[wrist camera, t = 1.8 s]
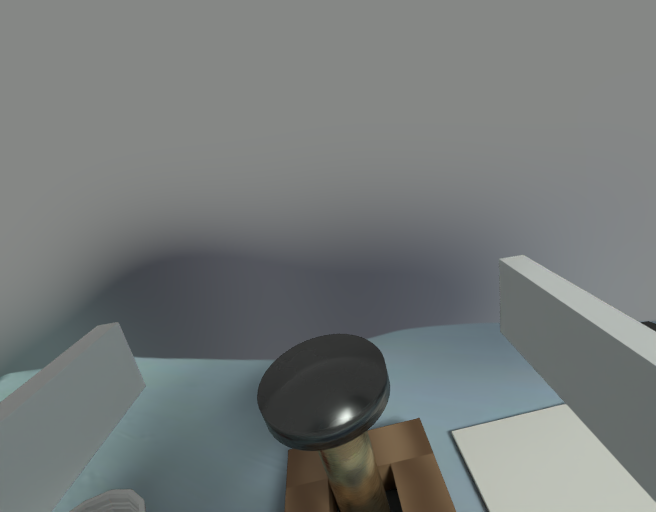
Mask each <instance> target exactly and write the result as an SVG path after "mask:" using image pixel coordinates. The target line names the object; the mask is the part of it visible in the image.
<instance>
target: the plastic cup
mask: <svg viewBox="0 0 656 512" xmlns="http://www.w3.org/2000/svg"><path fill="white" fill-rule="evenodd" d="M69 512H146V507H145V502H144V499H143V498H141V497H140V496H139V495H138V494H137V493H136V492H135V491H133V490H132V489H117V490H110V491H107V492H105V493H102V494H100V495H98V496H95V497H93V498H91V499H88V500H86V501H84V502H83V503H81V504H80V505H78V506H77V507H75V508H74V509H72V510H71V511H69Z"/></svg>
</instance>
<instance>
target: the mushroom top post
mask: <svg viewBox="0 0 656 512" xmlns="http://www.w3.org/2000/svg"><path fill="white" fill-rule="evenodd" d="M389 395H390V381H389V377H388V373H387V369H386V364H385V360H384V357H383V355H382V353H381V352H380V350H379V349H378V348H377V347H376V346H375V345H374V344H373V343H371V342H370V341H368V340H366V339H364V338H362V337H359V336H354V335H348V334H332V335H325V336H320V337H316V338H313V339H310V340H307V341H305V342H302V343H300V344H298V345H296V346H295V347H293V348H291V349H290V350H288V351H287V352H285V353H284V354H283V355H281V356H280V357H279V358H278V359H277V360H275V361H274V362H273V364H272V365H271V366H270V367H269V368H268V370H267V371H266V372H265V374H264V376H263V377H262V380H261V382H260V384H259V388H258V394H257V400H258V405H259V409H260V411H261V413H262V416H263V418H264V420H265V422H266V425H267V427H268V429H269V431H270V433H271V434H272V435H273V436H274V438H276V439H277V440H278V441H279V442H280V443H282V444H284V445H286V446H288V447H290V448H293V449H297V450H302V451H318V453H319V456H320V459H321V461H322V464H323V467H324V469H325V472H326V475H327V477H328V480H329V483H330V485H331V488H332V491H333V493H334V496H335V498H336V501H337V504H338V506H339V509H340V512H391V510H390V507H389V503H388V500H387V496H386V493H385V490H384V486H383V483H382V479H381V476H380V472H379V469H378V466H377V462H376V459H375V455H374V452H373V449H372V445H371V442H370V438H369V435H368V432H367V430H368V429H369V428H370V427H371V426H372V425H373V424H374V423H375V422H376V421H377V420H378V418H379V417H380V416H381V414H382V413H383V411H384V409H385V407H386V405H387V402H388V399H389Z"/></svg>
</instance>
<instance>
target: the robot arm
mask: <svg viewBox="0 0 656 512" xmlns="http://www.w3.org/2000/svg"><path fill="white" fill-rule="evenodd" d="M499 279H500V332H501V333H502V334H503V335H504V336H505V337H506V338H507V339H508V341H509V342H510V343H511V344H512V345H513V346H514V347H515V348H516V349H517V350H518V352H519V353H520V354H521V355H522V356H523V357H524V358H525V359H526V360H527V361H528V363H529V364H530V365H531V366H532V367H533V368H534V369H535V370H536V371H537V372H538V374H539V375H540V376H541V377H542V378H543V379H544V380H545V381H546V382H547V383H548V385H549V386H550V387H551V388H552V389H553V390H554V391H555V392H556V393H557V394H558V396H559V397H560V398H561V399H562V400H563V401H564V402H565V403H566V404H567V405H568V407H569V408H570V409H571V410H572V411H573V412H574V413H575V414H576V415H577V416H578V418H579V419H580V420H581V421H582V422H583V423H584V424H585V425H586V426H587V427H588V429H589V430H590V431H591V432H592V433H593V434H594V435H595V436H596V437H597V438H598V440H599V441H600V442H601V443H602V444H603V445H604V446H605V447H606V448H607V449H608V451H609V452H610V453H611V454H612V455H613V456H614V457H615V458H616V459H617V460H618V462H619V463H620V464H621V465H622V466H623V467H624V468H625V469H626V470H627V471H628V473H629V474H630V475H631V476H632V477H633V478H634V479H635V480H636V481H637V482H638V484H639V485H640V486H641V487H642V488H643V489H644V490H645V491H646V492H647V493H648V495H649V496H650V497H651V498H652V499H653V500H654V501H655V502H656V324H655V323H652V322H649V321H648V322H641V323H640V322H638V321H637V320H635V319H633V318H631V317H629V316H628V315H626V314H624V313H623V312H621V311H619V310H617V309H616V308H614V307H612V306H611V305H609V304H607V303H605V302H603V301H602V300H600V299H598V298H597V297H595V296H593V295H591V294H590V293H588V292H586V291H585V290H583V289H581V288H579V287H578V286H576V285H574V284H572V283H571V282H569V281H567V280H565V279H564V278H562V277H560V276H559V275H557V274H555V273H553V272H552V271H550V270H548V269H546V268H545V267H543V266H541V265H540V264H538V263H536V262H534V261H532V260H531V259H529V258H527V257H526V256H524V255H520V256H514V257H508V258H502V259H499ZM145 387H146V385H145V382H144V380H143V378H142V376H141V373H140V371H139V369H138V366H137V364H136V362H135V359H134V357H133V355H132V353H131V350H130V348H129V346H128V343H127V341H126V339H125V336H124V334H123V332H122V330H121V327H120V325H119V323H118V322H116V323H111V324H104V325H98V326H96V327H95V328H94V329H93V330H91V331H90V332H89V333H88V334H86V335H85V336H84V337H83V338H81V339H80V340H79V341H78V342H77V343H75V344H74V345H72V346H71V347H70V348H69V349H67V350H66V351H65V352H64V353H62V354H61V355H60V356H59V357H58V358H56V359H55V360H53V361H52V362H51V363H50V364H48V365H47V366H46V367H45V368H43V369H42V370H41V371H40V372H38V373H37V374H36V375H35V376H33V377H32V378H31V379H29V380H28V381H27V382H26V383H24V384H23V385H22V386H21V387H19V388H18V389H17V390H16V391H14V392H13V393H12V394H10V395H9V396H8V397H7V398H5V399H4V400H3V401H2V402H0V512H52V510H53V509H54V508H55V506H56V505H57V504H58V502H59V501H60V500H61V498H62V497H63V496H64V494H65V493H66V492H67V490H68V489H69V488H70V486H71V485H72V484H73V482H74V481H75V480H76V478H77V477H78V476H79V474H80V473H81V472H82V470H83V469H84V468H85V466H86V465H87V464H88V462H89V461H90V460H91V458H92V457H93V456H94V454H95V453H96V452H97V450H98V449H99V448H100V446H101V445H102V444H103V442H104V441H105V440H106V438H107V437H108V436H109V434H110V433H111V432H112V431H113V429H114V428H115V427H116V425H117V424H118V423H119V421H120V420H121V419H122V417H123V416H124V415H125V413H126V412H127V411H128V409H129V408H130V407H131V405H132V404H133V403H134V401H135V400H136V399H137V397H138V396H139V395H140V393H141V392H142V391H143V389H144V388H145Z"/></svg>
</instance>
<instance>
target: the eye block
mask: <svg viewBox="0 0 656 512" xmlns="http://www.w3.org/2000/svg"><path fill="white" fill-rule="evenodd" d="M367 432H368V435H369V438H370V442H371V445H372V449H373V452H374V455H375V459H376V462H377V466H378V469H379V472H380V476H381V479H382V483H383V486H384V490H385V491H388V490H393V489H397V491H398V495H399V499H400V503H401V507H402V511H403V512H456V510H455V508H454V505H453V502H452V500H451V497H450V495H449V492H448V490H447V487H446V485H445V482H444V479H443V477H442V474H441V472H440V469H439V467H438V464H437V462H436V459H435V456H434V454H433V451H432V449H431V446H430V444H429V441H428V438H427V436H426V433H425V431H424V428H423V426H422V423H421V421H420V418H417V419H413V420H409V421H405V422H401V423H397V424H393V425H389V426H384V427H380V428H376V429H372V430H368V431H367ZM285 512H337V501H336V498H335V496H334V493H333V491H332V488H331V485H330V483H329V480H328V477H327V475H326V472H325V469H324V467H323V464H322V461H321V459H320V456H319V453H318V451H302V450H297V449H290V450H288V464H287V481H286V497H285Z"/></svg>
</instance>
